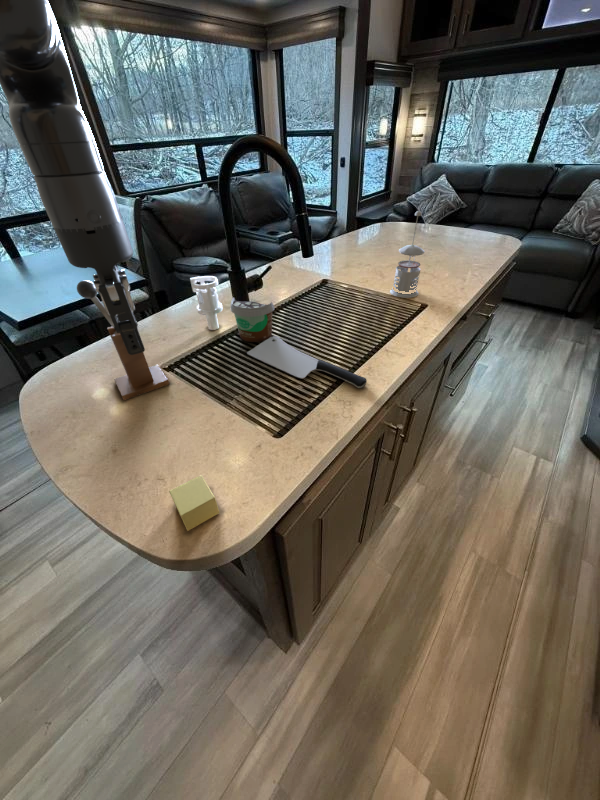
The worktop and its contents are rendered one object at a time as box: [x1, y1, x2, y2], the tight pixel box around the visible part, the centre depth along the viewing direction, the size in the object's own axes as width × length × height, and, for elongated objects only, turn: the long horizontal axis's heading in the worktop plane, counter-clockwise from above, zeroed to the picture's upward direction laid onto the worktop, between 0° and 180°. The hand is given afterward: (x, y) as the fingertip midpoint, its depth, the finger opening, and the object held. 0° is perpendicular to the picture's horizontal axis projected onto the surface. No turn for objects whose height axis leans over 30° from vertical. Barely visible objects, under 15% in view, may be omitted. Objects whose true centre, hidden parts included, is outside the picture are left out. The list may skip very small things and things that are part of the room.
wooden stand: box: [106, 326, 170, 401], centre depth 72 cm, size 10×8×14 cm
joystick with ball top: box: [76, 279, 117, 334], centre depth 65 cm, size 14×3×3 cm
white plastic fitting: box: [189, 275, 224, 331], centre depth 93 cm, size 7×7×15 cm
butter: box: [168, 474, 220, 532], centre depth 49 cm, size 5×5×4 cm
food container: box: [230, 297, 275, 343], centre depth 89 cm, size 12×6×10 cm, turn 71°
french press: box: [389, 210, 426, 299], centre depth 108 cm, size 10×12×25 cm
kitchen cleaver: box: [246, 335, 368, 389], centre depth 80 cm, size 31×2×10 cm
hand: (134, 339), depth 50 cm, fingers open, 8 cm apart
